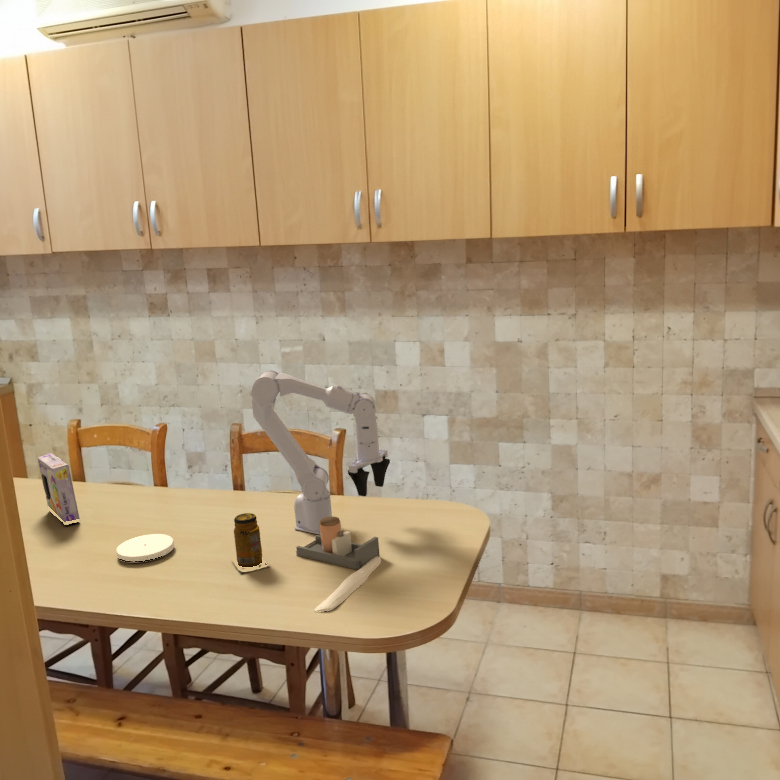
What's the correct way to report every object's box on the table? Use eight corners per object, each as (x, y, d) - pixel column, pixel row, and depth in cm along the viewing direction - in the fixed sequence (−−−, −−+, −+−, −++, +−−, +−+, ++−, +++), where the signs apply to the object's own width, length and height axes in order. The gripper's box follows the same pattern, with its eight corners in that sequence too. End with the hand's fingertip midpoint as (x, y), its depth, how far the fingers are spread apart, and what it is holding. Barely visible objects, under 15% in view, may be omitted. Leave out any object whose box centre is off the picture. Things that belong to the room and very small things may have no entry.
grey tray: (296, 555, 195) (294, 536, 194) (317, 542, 201) (315, 524, 200) (359, 570, 184) (357, 550, 183) (379, 556, 191) (378, 537, 189)
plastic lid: (180, 556, 200) (179, 546, 199) (123, 571, 193) (122, 561, 193) (167, 538, 212) (165, 529, 211) (112, 552, 205) (111, 543, 205)
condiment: (260, 554, 197) (254, 509, 194) (270, 567, 189) (265, 519, 187) (231, 562, 194) (225, 515, 191) (240, 575, 186) (235, 527, 184)
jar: (318, 555, 193) (315, 521, 191) (331, 547, 197) (328, 514, 195) (333, 559, 190) (330, 525, 188) (347, 551, 194) (344, 518, 192)
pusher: (333, 559, 190) (331, 536, 188) (348, 550, 194) (346, 527, 193) (337, 560, 189) (335, 536, 188) (352, 551, 194) (350, 528, 192)
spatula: (373, 557, 191) (374, 548, 190) (389, 562, 189) (390, 553, 188) (311, 615, 167) (311, 604, 166) (329, 620, 165) (329, 610, 164)
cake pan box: (45, 511, 239) (36, 454, 235) (63, 506, 242) (53, 450, 238) (63, 528, 224) (52, 468, 220) (81, 523, 226) (71, 464, 223)
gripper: (363, 450, 197) (367, 502, 200) (395, 435, 209) (399, 484, 212) (340, 447, 201) (345, 498, 204) (373, 432, 213) (377, 480, 216)
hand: (371, 490), depth 208 cm, fingers open, 7 cm apart
